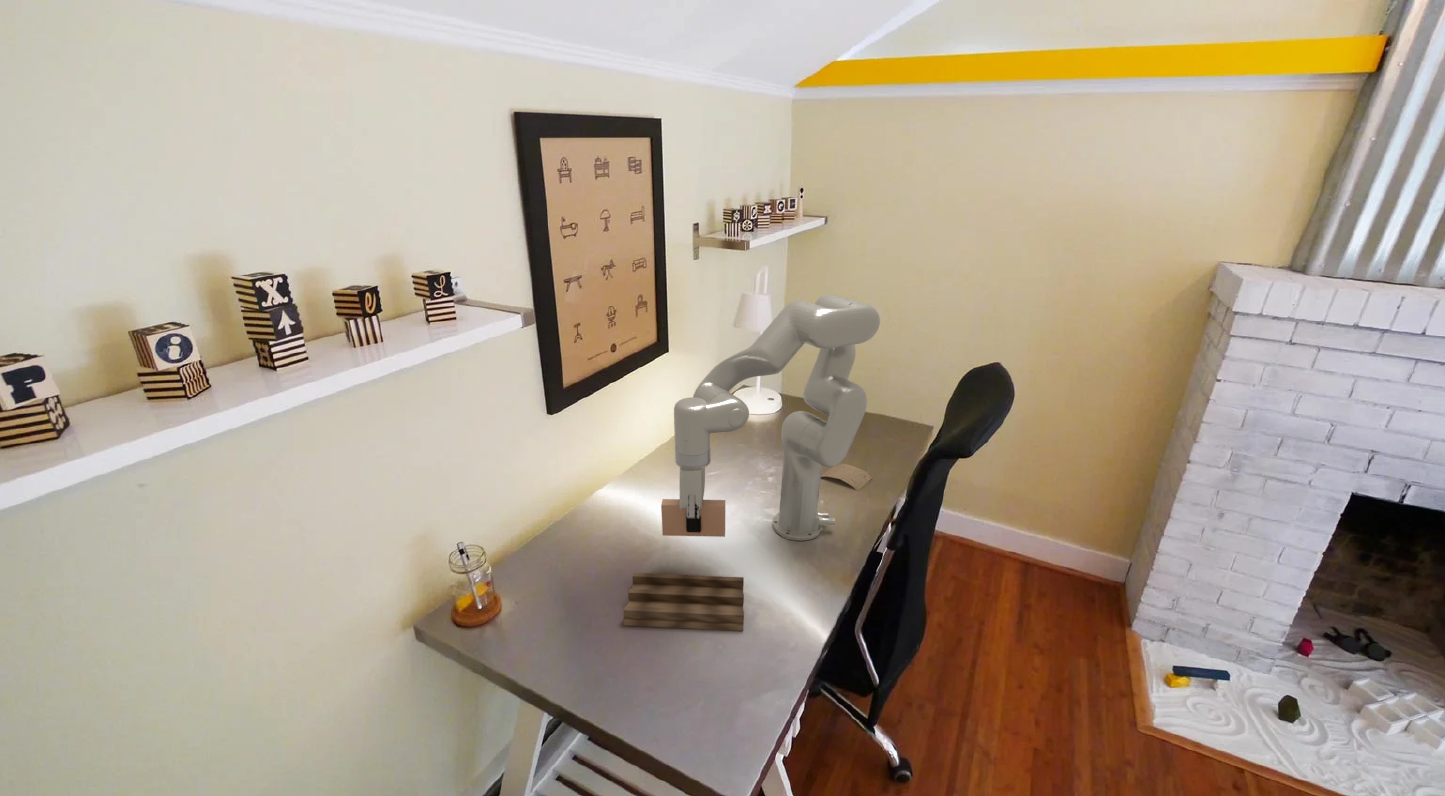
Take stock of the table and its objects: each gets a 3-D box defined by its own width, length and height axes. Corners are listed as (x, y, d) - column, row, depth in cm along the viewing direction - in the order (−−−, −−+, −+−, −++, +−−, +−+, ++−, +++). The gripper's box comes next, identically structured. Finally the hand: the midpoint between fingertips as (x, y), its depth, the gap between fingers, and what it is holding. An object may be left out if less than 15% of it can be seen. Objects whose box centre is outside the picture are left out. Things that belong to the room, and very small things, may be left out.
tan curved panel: (874, 480, 177) (875, 472, 176) (860, 494, 170) (861, 486, 169) (830, 466, 185) (831, 458, 184) (815, 478, 177) (816, 470, 176)
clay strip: (725, 530, 134) (725, 500, 131) (725, 536, 132) (725, 506, 129) (663, 528, 134) (662, 498, 131) (662, 535, 132) (661, 505, 129)
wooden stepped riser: (742, 589, 129) (743, 576, 128) (743, 630, 118) (744, 617, 117) (634, 584, 130) (633, 571, 128) (623, 625, 118) (623, 611, 117)
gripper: (679, 437, 133) (681, 507, 140) (671, 474, 118) (673, 549, 125) (712, 438, 133) (712, 507, 140) (708, 474, 118) (709, 550, 125)
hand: (694, 526), depth 132 cm, fingers closed on clay strip, 2 cm apart
